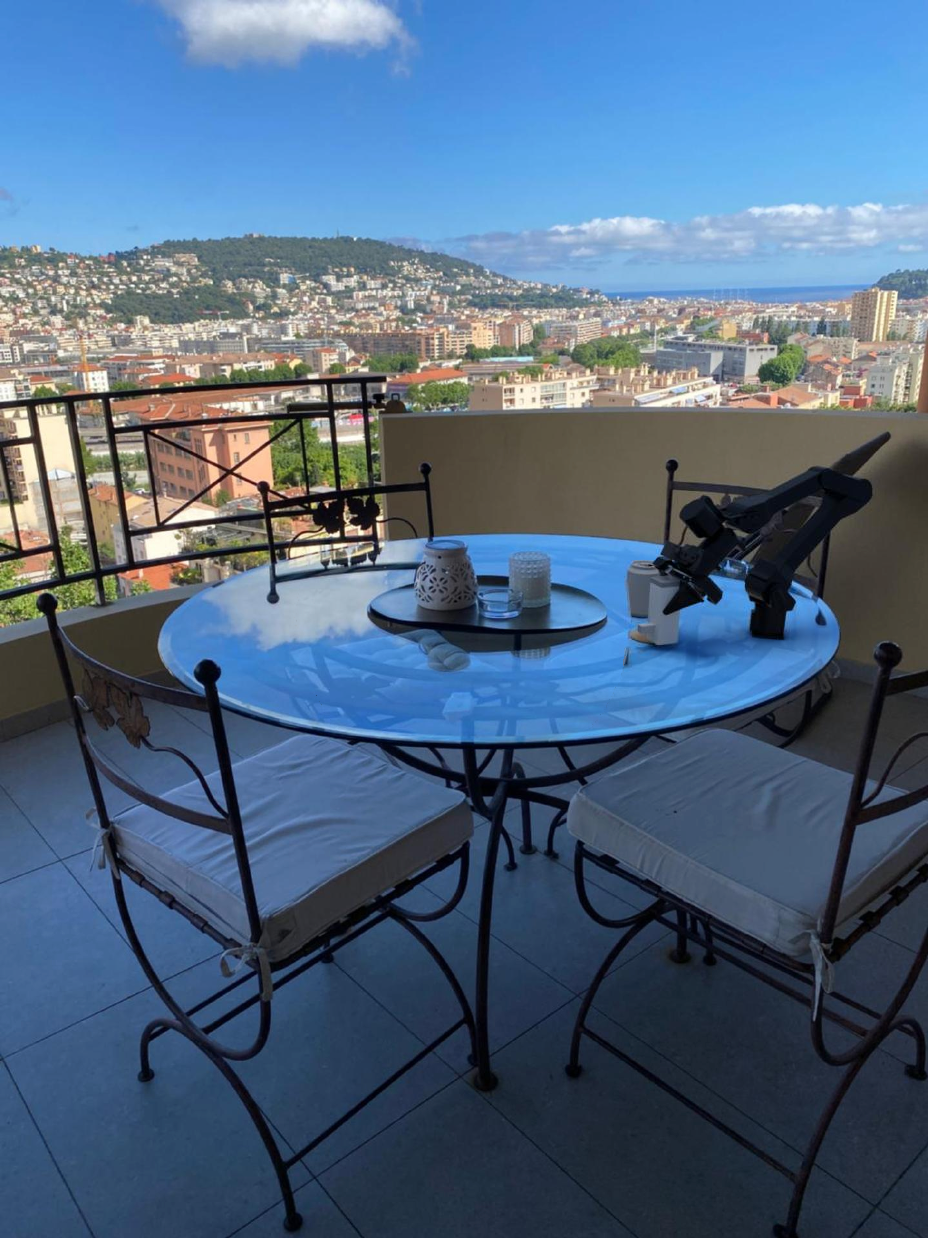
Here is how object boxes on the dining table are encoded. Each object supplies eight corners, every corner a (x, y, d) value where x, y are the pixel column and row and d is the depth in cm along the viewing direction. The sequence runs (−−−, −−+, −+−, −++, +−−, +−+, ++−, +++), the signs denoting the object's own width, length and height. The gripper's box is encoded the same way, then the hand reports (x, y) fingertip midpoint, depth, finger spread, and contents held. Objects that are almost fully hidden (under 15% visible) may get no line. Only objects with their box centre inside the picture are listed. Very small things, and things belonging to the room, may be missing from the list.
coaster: (669, 632, 176) (669, 630, 176) (667, 645, 169) (667, 643, 169) (631, 629, 178) (632, 627, 178) (628, 641, 171) (628, 639, 171)
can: (658, 619, 185) (662, 567, 181) (624, 617, 186) (627, 566, 182) (657, 609, 191) (661, 559, 188) (625, 607, 193) (628, 557, 189)
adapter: (666, 635, 171) (670, 575, 167) (677, 642, 167) (682, 581, 162) (633, 639, 169) (637, 578, 165) (644, 646, 165) (648, 584, 160)
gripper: (663, 517, 170) (612, 573, 171) (714, 537, 153) (657, 599, 154) (694, 551, 175) (644, 606, 175) (746, 574, 158) (691, 634, 158)
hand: (657, 610), depth 166 cm, fingers closed on adapter, 4 cm apart
